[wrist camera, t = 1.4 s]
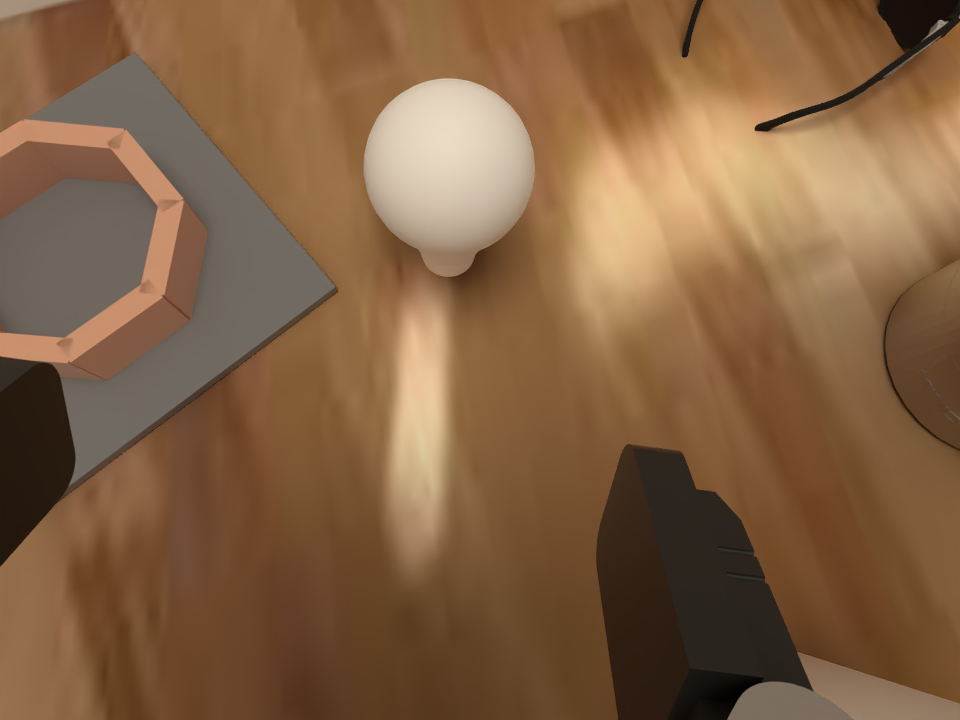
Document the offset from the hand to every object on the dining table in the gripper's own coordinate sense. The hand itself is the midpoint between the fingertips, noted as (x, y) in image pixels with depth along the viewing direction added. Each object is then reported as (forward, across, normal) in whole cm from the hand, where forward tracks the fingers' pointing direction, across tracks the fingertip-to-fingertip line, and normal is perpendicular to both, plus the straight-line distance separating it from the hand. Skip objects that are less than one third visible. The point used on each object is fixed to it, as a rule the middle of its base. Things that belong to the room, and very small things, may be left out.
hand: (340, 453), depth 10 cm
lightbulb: (+22, 0, +6) cm, 23 cm away
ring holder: (+20, +16, +8) cm, 27 cm away
